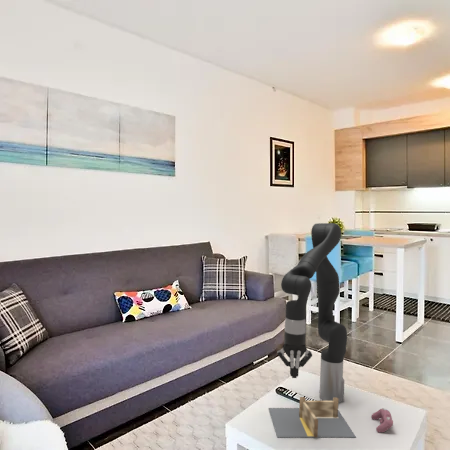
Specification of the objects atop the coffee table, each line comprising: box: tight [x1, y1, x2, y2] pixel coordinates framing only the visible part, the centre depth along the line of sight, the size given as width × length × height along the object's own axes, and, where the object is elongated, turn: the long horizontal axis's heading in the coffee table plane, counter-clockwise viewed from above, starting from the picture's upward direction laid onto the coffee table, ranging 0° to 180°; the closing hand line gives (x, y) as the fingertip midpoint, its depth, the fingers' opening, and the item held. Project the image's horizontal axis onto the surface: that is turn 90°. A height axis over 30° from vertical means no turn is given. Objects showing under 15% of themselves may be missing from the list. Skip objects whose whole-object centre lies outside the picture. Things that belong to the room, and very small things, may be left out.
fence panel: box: [302, 402, 318, 439], centre depth 132 cm, size 12×1×6 cm, turn 9°
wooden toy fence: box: [298, 396, 339, 418], centre depth 139 cm, size 15×2×8 cm, turn 93°
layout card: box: [268, 407, 357, 439], centre depth 136 cm, size 28×18×1 cm, turn 93°
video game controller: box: [371, 407, 394, 433], centre depth 135 cm, size 10×5×7 cm, turn 169°
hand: (293, 377), depth 131 cm, fingers closed
